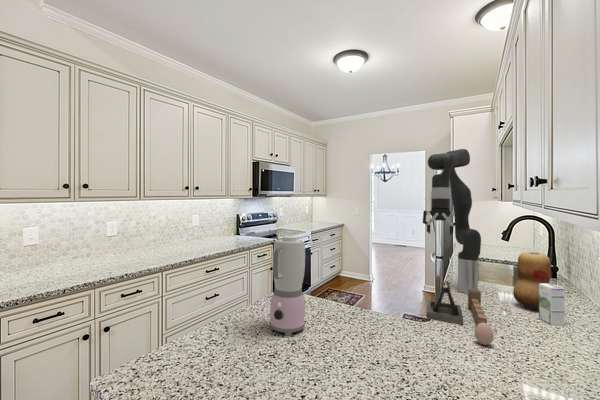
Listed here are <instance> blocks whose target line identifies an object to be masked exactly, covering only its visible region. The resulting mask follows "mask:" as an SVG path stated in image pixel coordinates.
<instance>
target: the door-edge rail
mask: <svg viewBox="0 0 600 400" xmlns="http://www.w3.org/2000/svg"><path fill="white" fill-rule="evenodd" d="M481 303H482V292H481V290H479V289H478V290H471V289H468V294H467V308H468V311H471V314H472V317H473V319H474V322H475V325H476V326H477V325H478V324H479V323H486V324H487V325H488V317H487V316H486V314H485V312H484V309H483V307H482V305H481Z"/></svg>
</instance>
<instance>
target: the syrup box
mask: <svg viewBox="0 0 600 400" xmlns="http://www.w3.org/2000/svg"><path fill="white" fill-rule="evenodd" d="M565 303H566V288H565V287H563V286H561V285H557V284H554V283H550V282H549V283H541V284H539V310H538V319H539V320H540V321H543V322H544V323H547V324H549V325H554V326H566V304H565Z"/></svg>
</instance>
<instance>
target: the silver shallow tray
mask: <svg viewBox="0 0 600 400" xmlns="http://www.w3.org/2000/svg"><path fill="white" fill-rule="evenodd" d="M435 301H436V300H429V299H428V300H427V304H426V305H427V307H426V319H427V320H434V321H439V322H444V323H445V322H446V323H450V324H455V325H463V326H464V316H463V312H462V308H461V305H460V304H456V303H455V306H456V309H457V312H458V316H457V315H451V314H445V313H439V312H433V306H434V303H435ZM439 308H444V309H450V310H452V308H451V304H450V302H449V303H448V302H442V301H441V304H440V307H439Z"/></svg>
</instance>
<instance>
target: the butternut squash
mask: <svg viewBox="0 0 600 400" xmlns="http://www.w3.org/2000/svg"><path fill="white" fill-rule="evenodd" d="M516 264H517V265H516V271H517V272H516V273H517V281H516V282H515V285H514V287H513V290H512V292H513V293H512V294H513V298H514V300H515V301H516V302H518V304H520V305H521V306H524V307H525V306H526V307H525V308H529V309H532V310H538V309H539V284H541V283H550V280H551V278H552V273H551V272H552V270H551V269H552V264H551V259H550V257H549V256H547V255H546V254H545V253H542V252H539V251H525V252H521V253H520V254H519V255H518V257H517V263H516Z"/></svg>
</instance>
